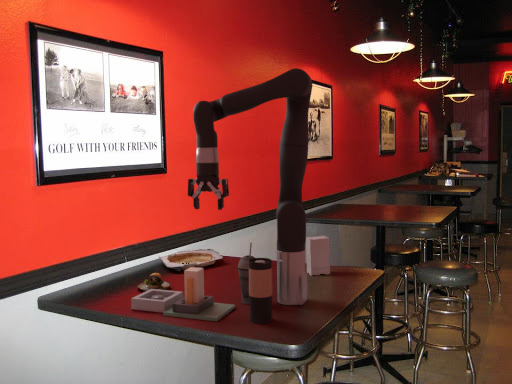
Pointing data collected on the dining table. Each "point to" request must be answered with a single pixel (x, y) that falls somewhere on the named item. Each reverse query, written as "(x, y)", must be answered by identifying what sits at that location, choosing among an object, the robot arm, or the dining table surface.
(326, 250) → the skincare box
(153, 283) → the burger
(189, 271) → the plug
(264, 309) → the travel mug
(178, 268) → the oval serving dish
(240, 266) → the beverage cup
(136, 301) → the fan
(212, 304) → the header board
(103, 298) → the dining table surface
